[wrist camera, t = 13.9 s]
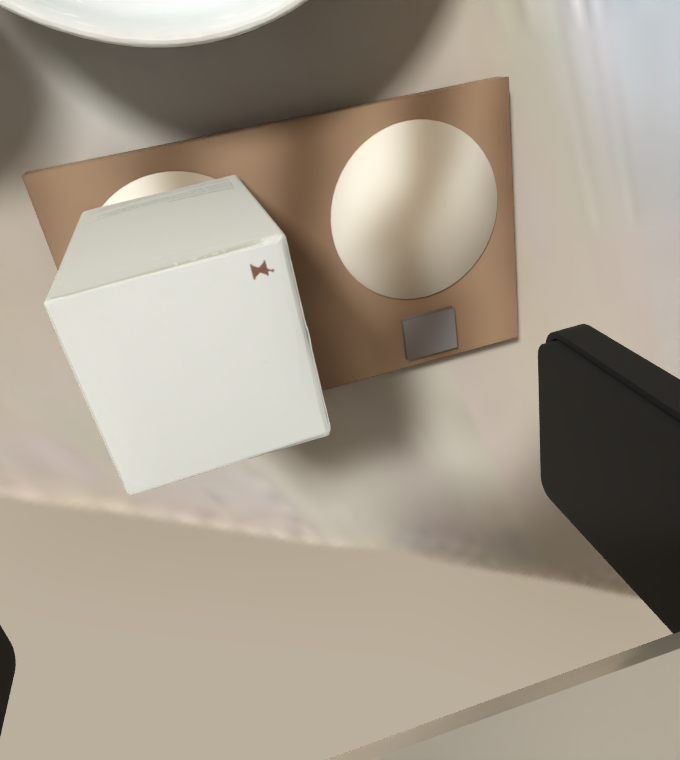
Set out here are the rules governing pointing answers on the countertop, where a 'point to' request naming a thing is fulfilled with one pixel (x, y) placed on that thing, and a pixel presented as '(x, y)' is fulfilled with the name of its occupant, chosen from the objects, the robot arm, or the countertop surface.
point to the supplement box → (187, 333)
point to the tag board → (353, 218)
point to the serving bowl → (152, 19)
